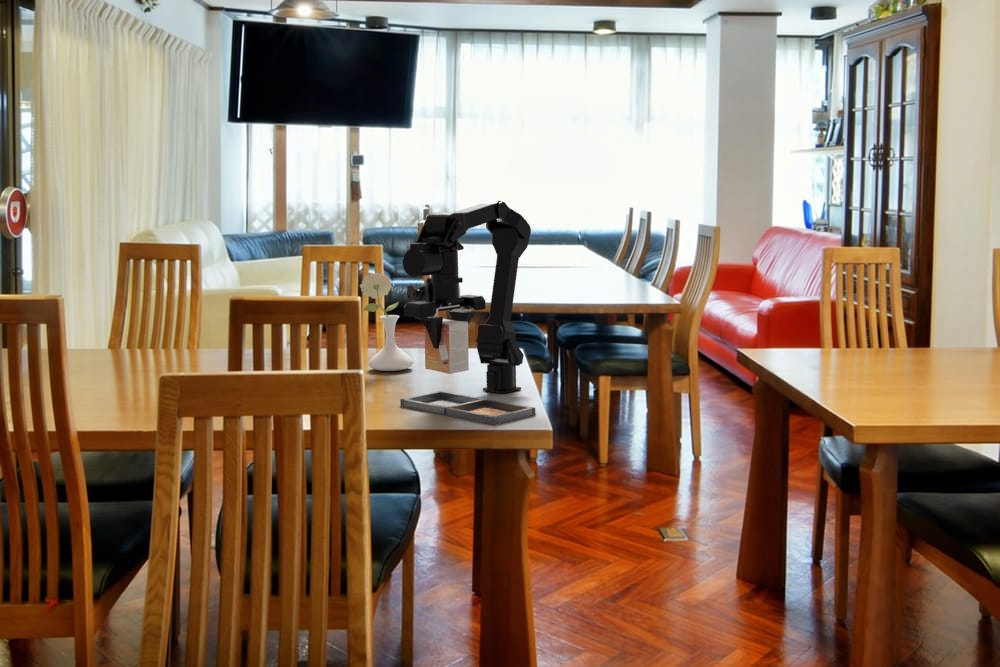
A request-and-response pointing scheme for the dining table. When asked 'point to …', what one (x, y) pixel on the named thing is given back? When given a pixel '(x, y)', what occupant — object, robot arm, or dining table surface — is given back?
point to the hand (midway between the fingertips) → (446, 346)
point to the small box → (448, 348)
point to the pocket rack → (469, 407)
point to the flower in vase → (390, 353)
